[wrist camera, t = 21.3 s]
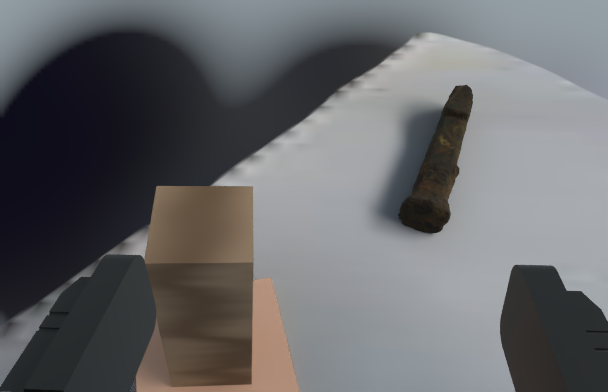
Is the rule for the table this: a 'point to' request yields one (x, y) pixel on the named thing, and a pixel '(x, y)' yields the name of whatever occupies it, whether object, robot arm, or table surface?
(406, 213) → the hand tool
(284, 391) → the tile
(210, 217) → the walnut block
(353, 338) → the table surface
